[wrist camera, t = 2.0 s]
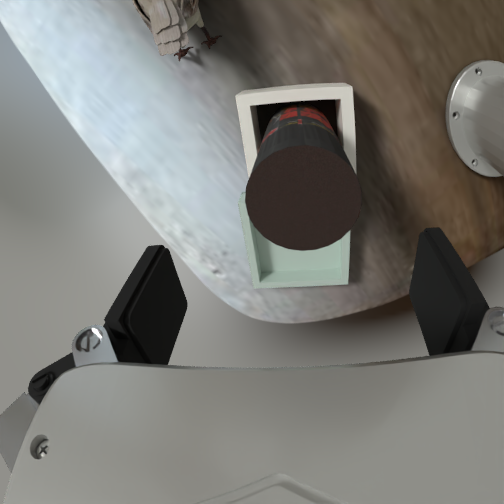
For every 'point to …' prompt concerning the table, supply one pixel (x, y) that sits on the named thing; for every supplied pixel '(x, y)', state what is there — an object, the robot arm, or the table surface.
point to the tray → (293, 260)
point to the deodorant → (302, 182)
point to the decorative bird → (172, 23)
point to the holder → (296, 93)
